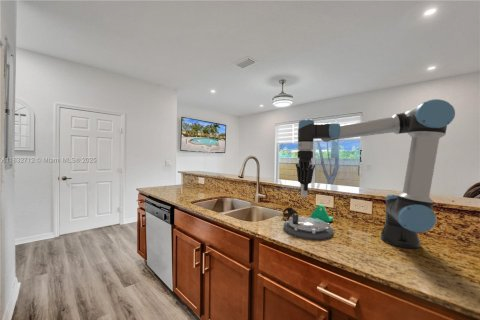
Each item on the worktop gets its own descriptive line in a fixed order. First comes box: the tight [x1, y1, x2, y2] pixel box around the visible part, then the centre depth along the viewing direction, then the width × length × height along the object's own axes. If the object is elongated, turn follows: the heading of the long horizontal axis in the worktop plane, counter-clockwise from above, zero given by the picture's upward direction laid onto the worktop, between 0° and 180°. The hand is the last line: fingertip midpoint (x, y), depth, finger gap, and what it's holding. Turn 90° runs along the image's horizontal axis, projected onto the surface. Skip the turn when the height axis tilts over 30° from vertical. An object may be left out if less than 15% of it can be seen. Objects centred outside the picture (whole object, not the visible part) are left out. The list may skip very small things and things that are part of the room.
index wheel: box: [285, 213, 330, 234], centre depth 113 cm, size 22×22×7 cm
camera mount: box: [309, 204, 334, 223], centre depth 133 cm, size 12×8×10 cm, turn 49°
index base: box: [283, 221, 334, 241], centre depth 113 cm, size 26×26×3 cm
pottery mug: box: [282, 206, 298, 218], centre depth 137 cm, size 12×10×8 cm
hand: (304, 196), depth 104 cm, fingers closed
